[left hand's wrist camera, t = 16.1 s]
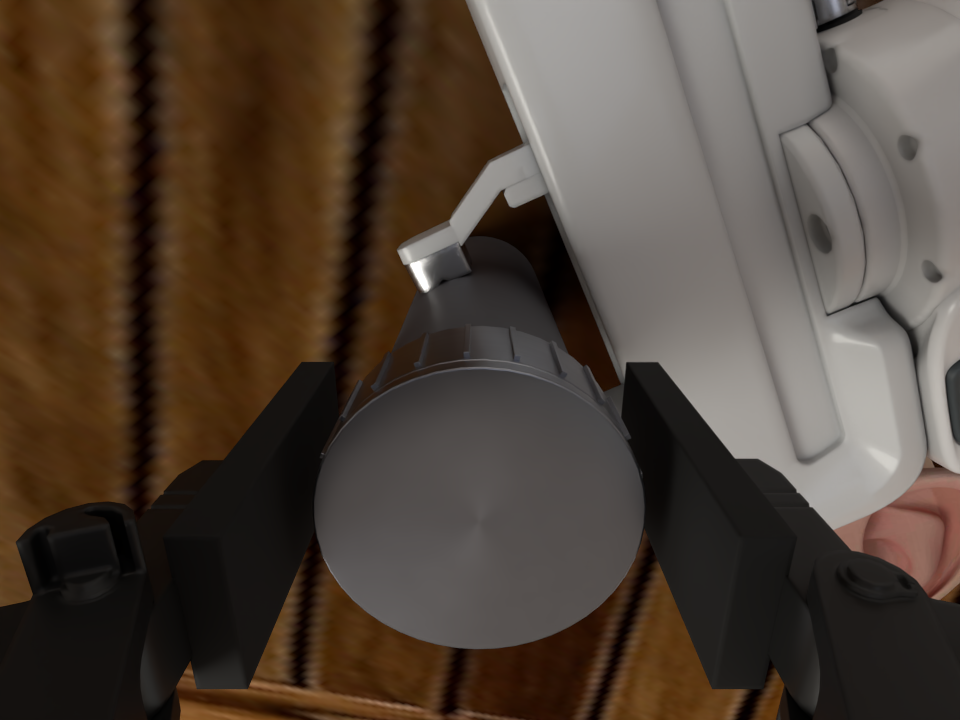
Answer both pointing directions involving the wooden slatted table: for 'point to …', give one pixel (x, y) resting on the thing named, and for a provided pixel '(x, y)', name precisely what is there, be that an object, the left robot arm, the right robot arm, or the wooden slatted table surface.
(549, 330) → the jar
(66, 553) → the left robot arm
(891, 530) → the anatomical model
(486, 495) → the lid
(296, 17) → the wooden slatted table surface
